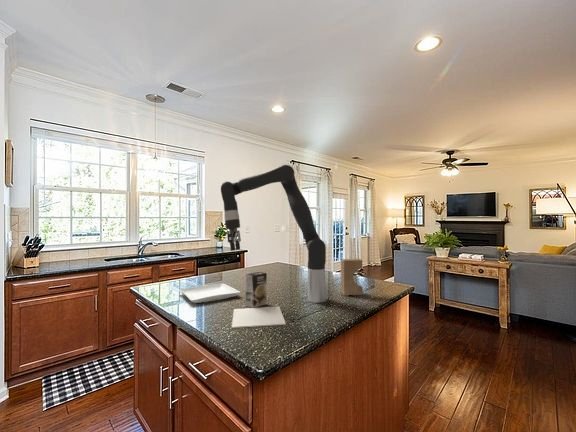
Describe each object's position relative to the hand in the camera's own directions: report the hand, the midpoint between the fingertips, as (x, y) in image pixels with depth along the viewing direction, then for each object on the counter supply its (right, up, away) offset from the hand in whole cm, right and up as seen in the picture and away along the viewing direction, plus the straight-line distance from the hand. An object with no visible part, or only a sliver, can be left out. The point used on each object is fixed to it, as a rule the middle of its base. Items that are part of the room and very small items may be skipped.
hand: (235, 250), depth 145 cm
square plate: (-18, -28, +13) cm, 36 cm away
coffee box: (+11, -28, -4) cm, 30 cm away
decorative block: (+64, -27, +14) cm, 71 cm away
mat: (+14, -27, -21) cm, 37 cm away
